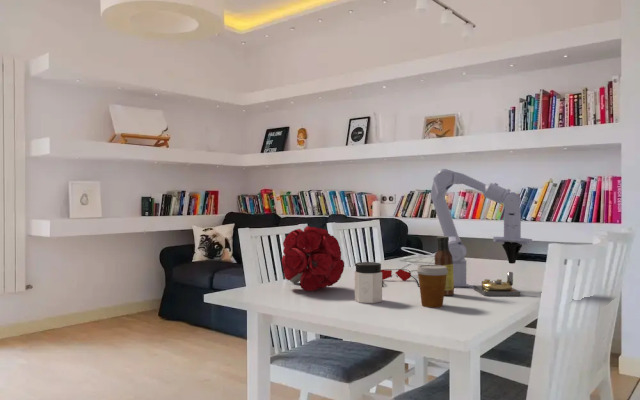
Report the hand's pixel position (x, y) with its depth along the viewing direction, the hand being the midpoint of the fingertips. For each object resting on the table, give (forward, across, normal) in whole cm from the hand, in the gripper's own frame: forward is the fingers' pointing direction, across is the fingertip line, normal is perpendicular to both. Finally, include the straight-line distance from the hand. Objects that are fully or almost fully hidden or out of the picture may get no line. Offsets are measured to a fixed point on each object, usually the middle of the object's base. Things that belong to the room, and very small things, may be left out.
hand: (512, 263), depth 185 cm
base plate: (+9, +1, -11) cm, 14 cm away
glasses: (+10, -33, -25) cm, 43 cm away
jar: (+10, -15, -56) cm, 59 cm away
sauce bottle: (+10, -8, -28) cm, 30 cm away
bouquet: (+10, -44, -58) cm, 74 cm away
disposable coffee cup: (+10, +2, -45) cm, 46 cm away
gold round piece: (+8, +1, -11) cm, 13 cm away
